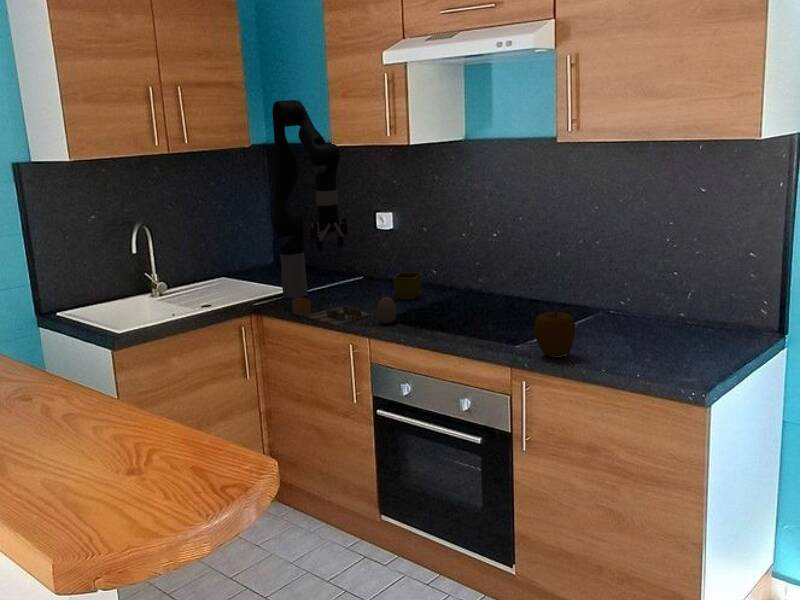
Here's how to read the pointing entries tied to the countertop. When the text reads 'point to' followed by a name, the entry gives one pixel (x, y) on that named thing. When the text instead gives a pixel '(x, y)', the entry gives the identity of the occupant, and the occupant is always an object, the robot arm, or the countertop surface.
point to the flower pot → (407, 285)
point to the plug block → (301, 306)
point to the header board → (339, 315)
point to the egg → (386, 310)
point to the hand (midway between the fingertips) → (330, 249)
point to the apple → (555, 333)
